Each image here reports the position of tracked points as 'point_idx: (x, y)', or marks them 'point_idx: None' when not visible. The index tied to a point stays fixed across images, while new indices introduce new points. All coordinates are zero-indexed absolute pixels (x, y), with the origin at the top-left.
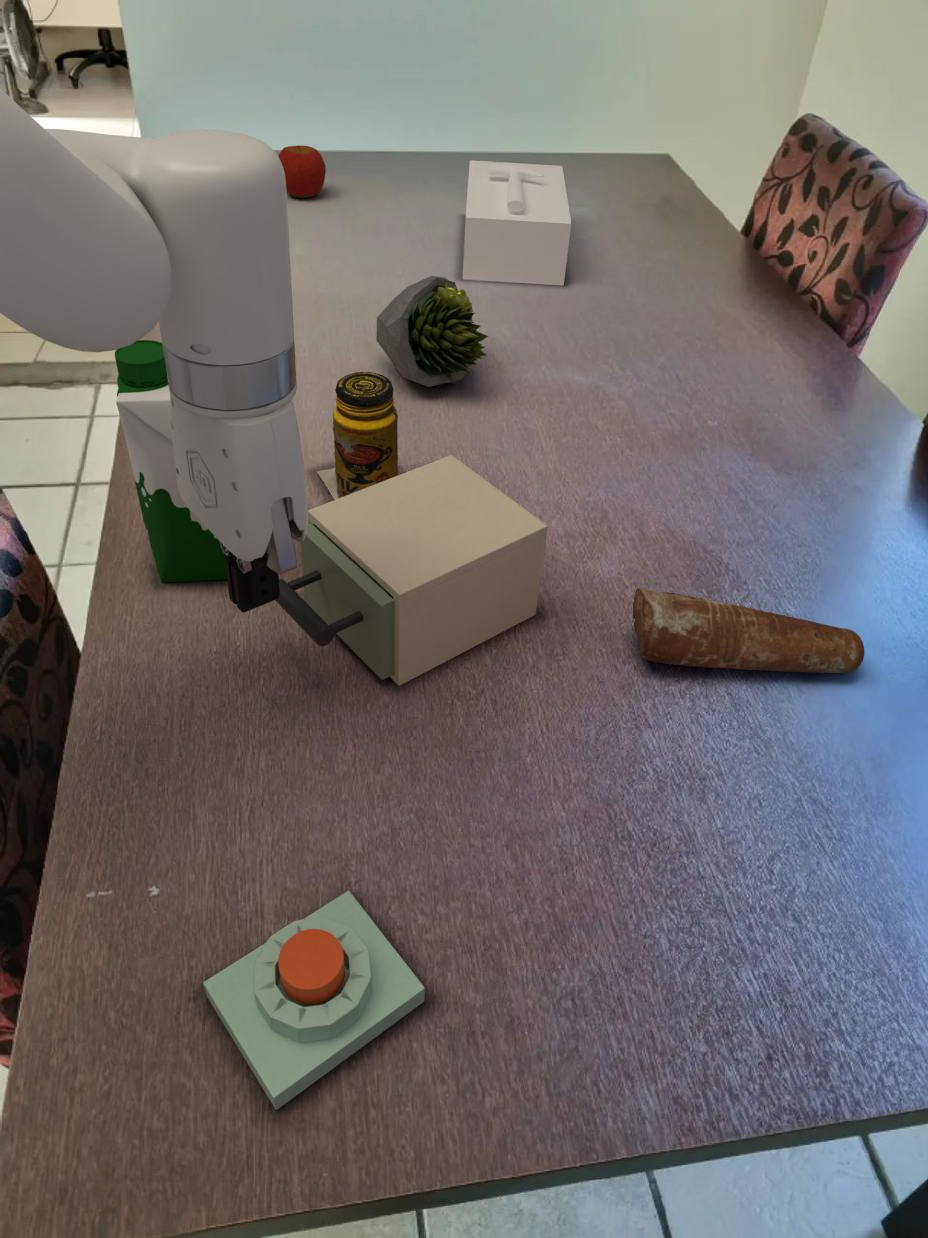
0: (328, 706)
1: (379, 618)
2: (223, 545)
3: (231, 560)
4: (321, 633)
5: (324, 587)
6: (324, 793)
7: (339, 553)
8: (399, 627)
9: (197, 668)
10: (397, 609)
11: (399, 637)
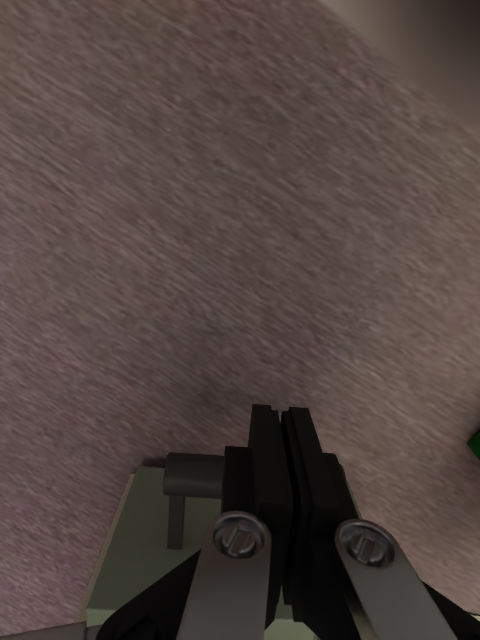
0: (160, 384)
1: (104, 573)
2: (377, 547)
3: (314, 517)
4: (164, 476)
5: None
6: (23, 287)
7: (277, 637)
8: (92, 574)
9: (358, 285)
10: (83, 614)
11: (100, 553)
